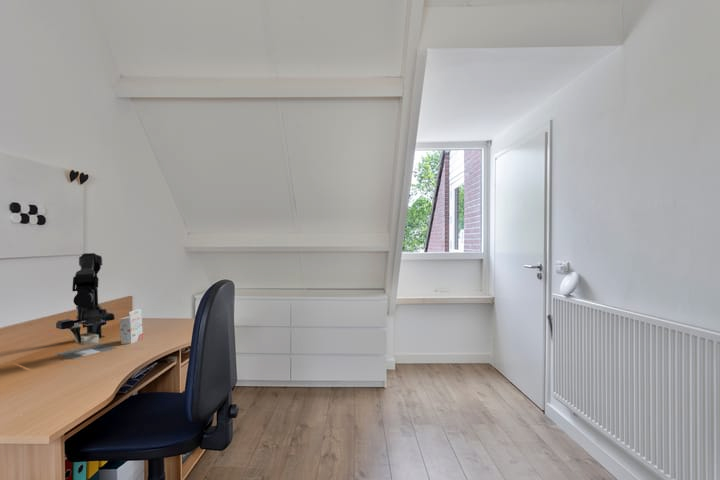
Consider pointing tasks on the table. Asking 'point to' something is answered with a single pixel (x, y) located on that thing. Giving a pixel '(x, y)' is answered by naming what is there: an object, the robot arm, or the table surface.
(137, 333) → the ink cartridge box
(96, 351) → the charcoal mat
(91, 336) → the off-white banded block
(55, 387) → the table surface
